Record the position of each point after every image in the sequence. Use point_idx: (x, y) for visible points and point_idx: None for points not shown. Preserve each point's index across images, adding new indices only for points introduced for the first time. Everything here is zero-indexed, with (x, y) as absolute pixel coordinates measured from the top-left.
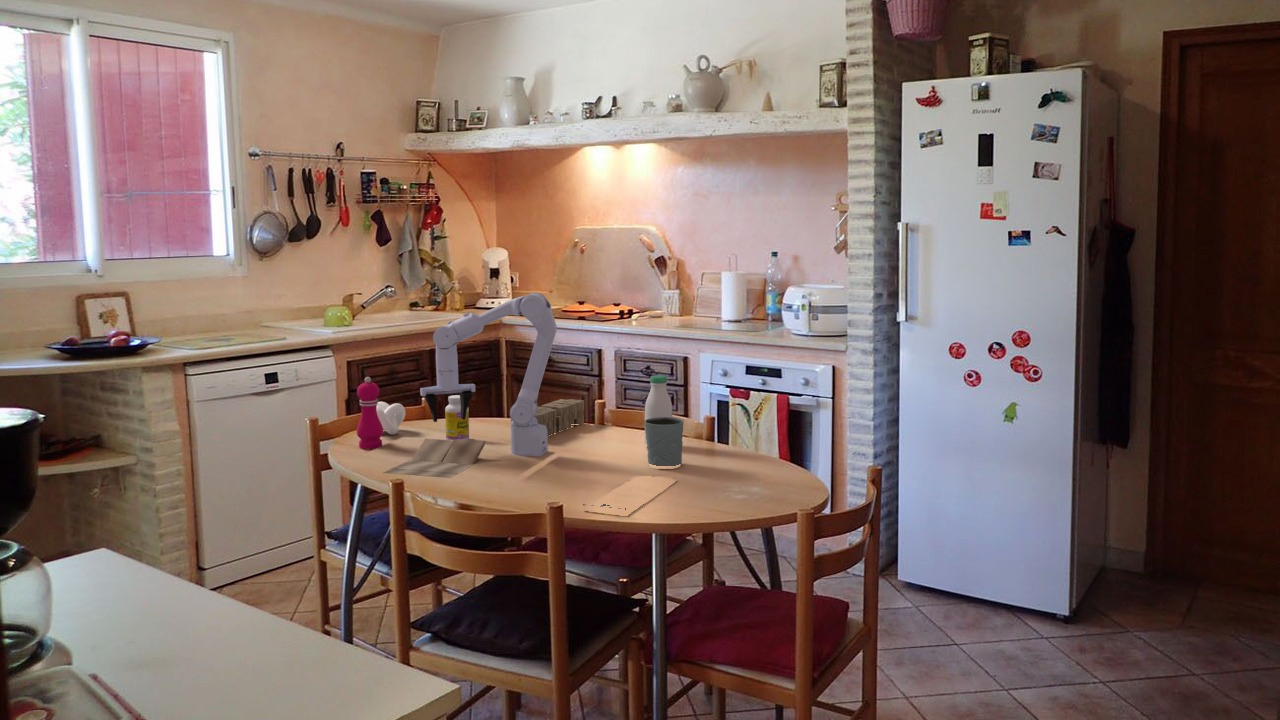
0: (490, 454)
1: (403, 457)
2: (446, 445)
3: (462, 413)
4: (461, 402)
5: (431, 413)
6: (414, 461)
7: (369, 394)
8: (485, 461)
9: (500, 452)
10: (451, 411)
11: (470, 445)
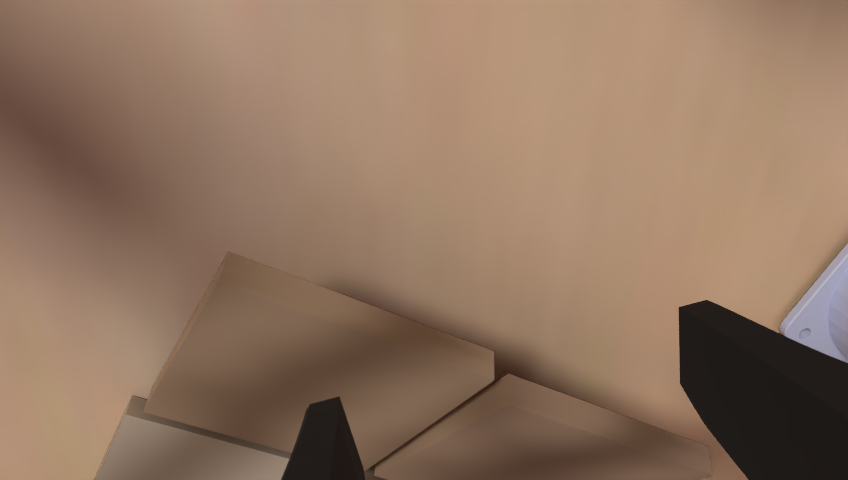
0: (717, 212)
1: (31, 202)
2: (420, 395)
3: (722, 419)
4: (842, 475)
5: (285, 475)
6: (177, 448)
7: None
8: (640, 379)
9: (798, 165)
10: None
11: (598, 466)
